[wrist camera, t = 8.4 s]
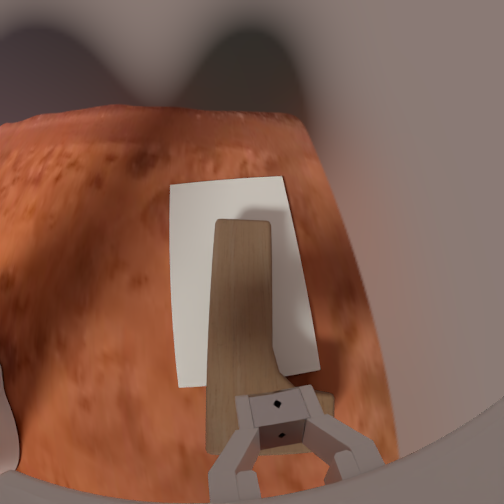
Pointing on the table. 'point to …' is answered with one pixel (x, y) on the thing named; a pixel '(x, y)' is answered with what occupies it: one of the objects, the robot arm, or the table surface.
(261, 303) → the wooden block
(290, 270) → the white board
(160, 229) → the table surface
